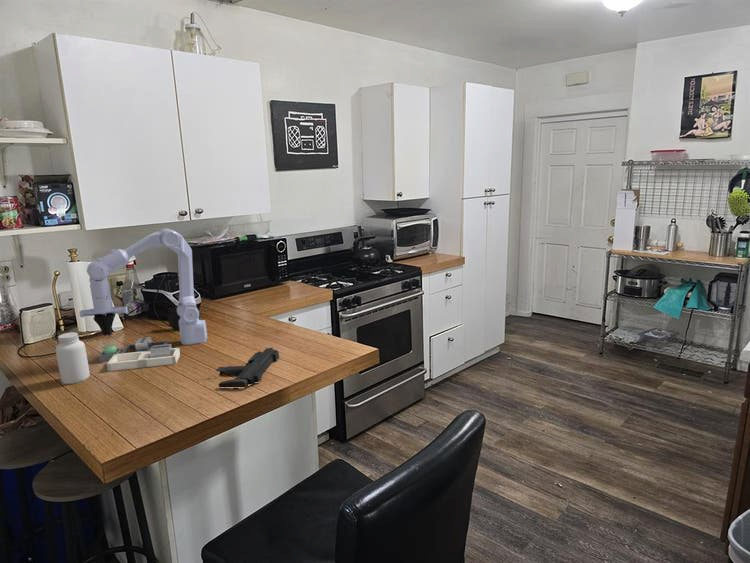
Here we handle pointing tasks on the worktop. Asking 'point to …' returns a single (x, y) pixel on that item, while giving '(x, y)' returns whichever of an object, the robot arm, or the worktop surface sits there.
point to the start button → (110, 349)
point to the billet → (143, 344)
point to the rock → (174, 318)
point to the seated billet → (161, 351)
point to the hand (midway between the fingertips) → (107, 334)
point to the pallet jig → (140, 360)
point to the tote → (132, 346)
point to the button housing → (108, 356)
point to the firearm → (249, 369)
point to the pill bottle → (72, 359)
